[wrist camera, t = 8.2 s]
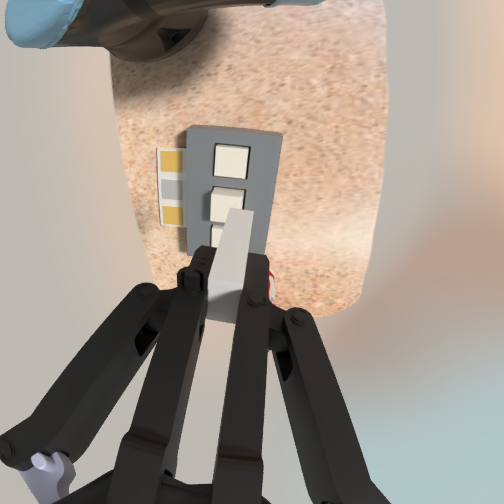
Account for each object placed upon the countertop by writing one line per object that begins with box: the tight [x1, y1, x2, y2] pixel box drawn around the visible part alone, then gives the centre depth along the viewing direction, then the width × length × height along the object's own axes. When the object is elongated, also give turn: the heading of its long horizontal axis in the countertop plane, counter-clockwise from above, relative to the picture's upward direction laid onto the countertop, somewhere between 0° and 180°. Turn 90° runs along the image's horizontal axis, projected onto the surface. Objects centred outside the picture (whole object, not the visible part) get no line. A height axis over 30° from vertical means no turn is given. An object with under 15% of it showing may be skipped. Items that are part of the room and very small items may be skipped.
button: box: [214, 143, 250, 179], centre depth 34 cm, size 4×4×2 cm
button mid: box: [210, 187, 244, 223], centre depth 36 cm, size 4×4×2 cm
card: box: [157, 147, 186, 228], centre depth 39 cm, size 13×4×1 cm, turn 174°
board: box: [186, 125, 283, 256], centre depth 38 cm, size 20×12×3 cm, turn 174°
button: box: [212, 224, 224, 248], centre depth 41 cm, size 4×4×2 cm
